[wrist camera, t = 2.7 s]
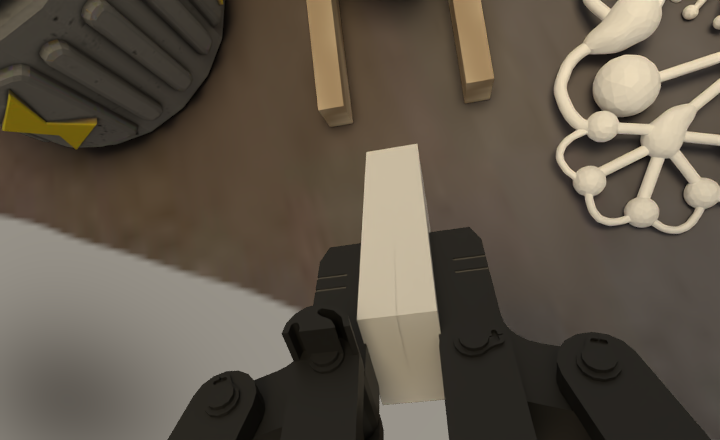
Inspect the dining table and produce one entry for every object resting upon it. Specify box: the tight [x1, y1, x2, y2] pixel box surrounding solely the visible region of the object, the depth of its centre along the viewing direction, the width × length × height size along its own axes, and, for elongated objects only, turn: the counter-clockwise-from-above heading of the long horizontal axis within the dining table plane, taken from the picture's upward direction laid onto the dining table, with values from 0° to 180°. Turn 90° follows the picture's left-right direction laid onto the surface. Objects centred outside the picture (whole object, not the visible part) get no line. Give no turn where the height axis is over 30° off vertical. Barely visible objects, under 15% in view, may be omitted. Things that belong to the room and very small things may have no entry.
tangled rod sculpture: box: [554, 0, 720, 234], centre depth 27 cm, size 19×14×4 cm
